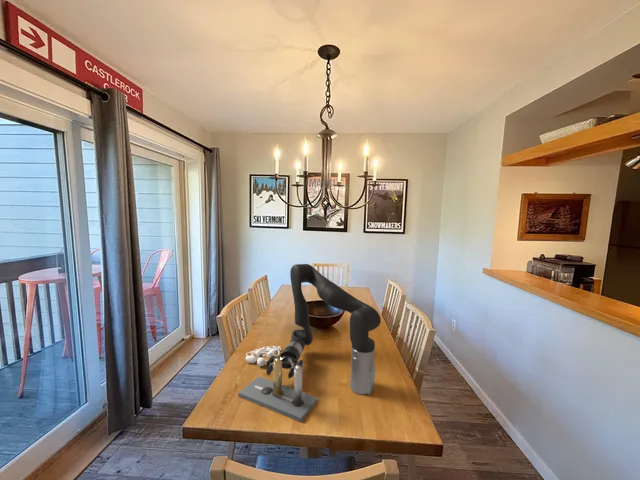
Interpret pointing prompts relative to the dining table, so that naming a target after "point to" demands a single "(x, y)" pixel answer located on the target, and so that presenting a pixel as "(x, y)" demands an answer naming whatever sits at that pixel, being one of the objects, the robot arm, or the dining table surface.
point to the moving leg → (277, 378)
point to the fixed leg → (298, 385)
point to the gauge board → (278, 399)
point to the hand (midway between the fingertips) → (278, 374)
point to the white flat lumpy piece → (261, 360)
